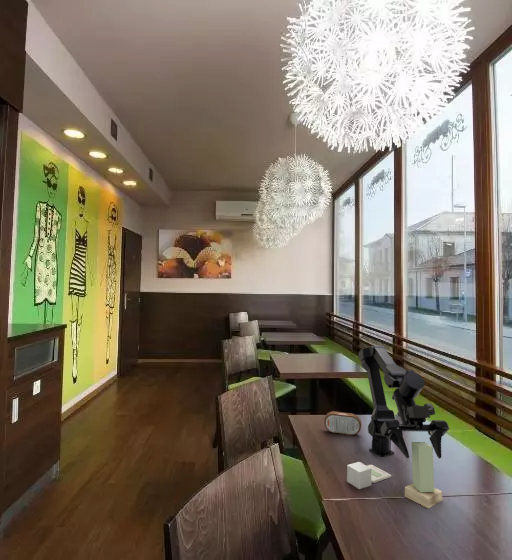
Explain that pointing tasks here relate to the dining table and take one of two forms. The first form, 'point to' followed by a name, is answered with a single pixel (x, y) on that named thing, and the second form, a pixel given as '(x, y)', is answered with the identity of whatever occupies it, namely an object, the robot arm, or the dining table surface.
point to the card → (378, 474)
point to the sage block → (423, 466)
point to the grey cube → (359, 475)
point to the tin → (342, 423)
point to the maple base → (423, 496)
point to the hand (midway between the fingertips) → (424, 457)
